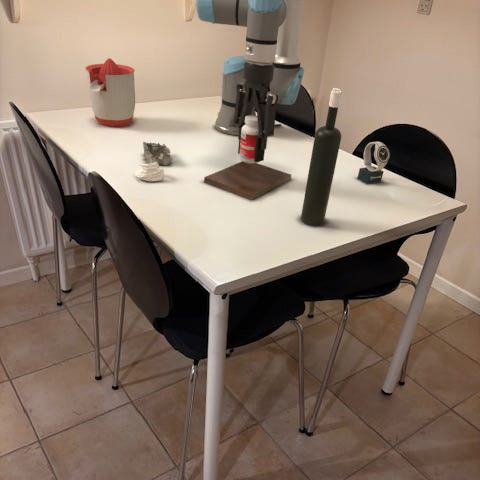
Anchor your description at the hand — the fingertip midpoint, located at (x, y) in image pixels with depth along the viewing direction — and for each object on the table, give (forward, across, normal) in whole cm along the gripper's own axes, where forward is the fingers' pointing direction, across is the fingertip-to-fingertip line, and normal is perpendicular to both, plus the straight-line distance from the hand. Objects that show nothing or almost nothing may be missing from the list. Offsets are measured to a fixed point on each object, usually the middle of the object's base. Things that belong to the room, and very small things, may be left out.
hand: (250, 156), depth 130 cm
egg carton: (+7, -26, -14) cm, 30 cm away
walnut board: (+7, 0, 0) cm, 7 cm away
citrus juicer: (+7, -63, -9) cm, 64 cm away
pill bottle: (+1, 0, 0) cm, 1 cm away
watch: (+7, +17, +33) cm, 38 cm away
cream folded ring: (+7, -15, -23) cm, 28 cm away
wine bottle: (+7, +27, -2) cm, 28 cm away
